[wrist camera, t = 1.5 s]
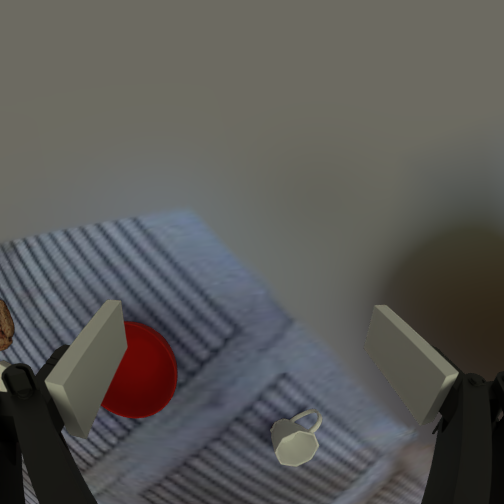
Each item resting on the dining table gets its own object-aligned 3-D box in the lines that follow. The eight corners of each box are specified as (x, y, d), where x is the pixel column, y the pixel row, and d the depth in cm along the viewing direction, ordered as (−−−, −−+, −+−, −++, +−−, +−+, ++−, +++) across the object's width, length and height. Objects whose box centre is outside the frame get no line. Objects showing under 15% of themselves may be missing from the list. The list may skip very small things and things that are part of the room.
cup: (254, 431, 42) (265, 453, 34) (296, 392, 44) (314, 408, 37) (281, 451, 42) (295, 473, 34) (321, 413, 45) (341, 431, 37)
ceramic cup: (76, 319, 39) (48, 324, 30) (175, 313, 43) (169, 318, 33) (89, 394, 38) (67, 415, 28) (186, 392, 41) (185, 416, 31)
